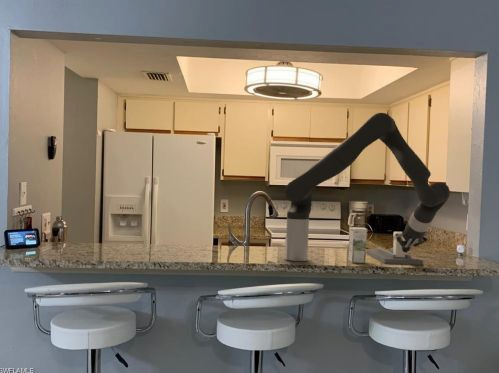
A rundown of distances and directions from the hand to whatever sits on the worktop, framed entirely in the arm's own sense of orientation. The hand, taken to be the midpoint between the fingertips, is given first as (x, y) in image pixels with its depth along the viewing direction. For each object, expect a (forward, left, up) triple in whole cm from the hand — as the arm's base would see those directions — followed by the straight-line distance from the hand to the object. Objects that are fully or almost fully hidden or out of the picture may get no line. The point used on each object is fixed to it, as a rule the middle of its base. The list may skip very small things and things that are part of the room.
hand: (404, 250), depth 168 cm
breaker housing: (0, +12, -6) cm, 14 cm away
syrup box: (-19, +2, -6) cm, 20 cm away
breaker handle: (0, +5, -4) cm, 7 cm away
